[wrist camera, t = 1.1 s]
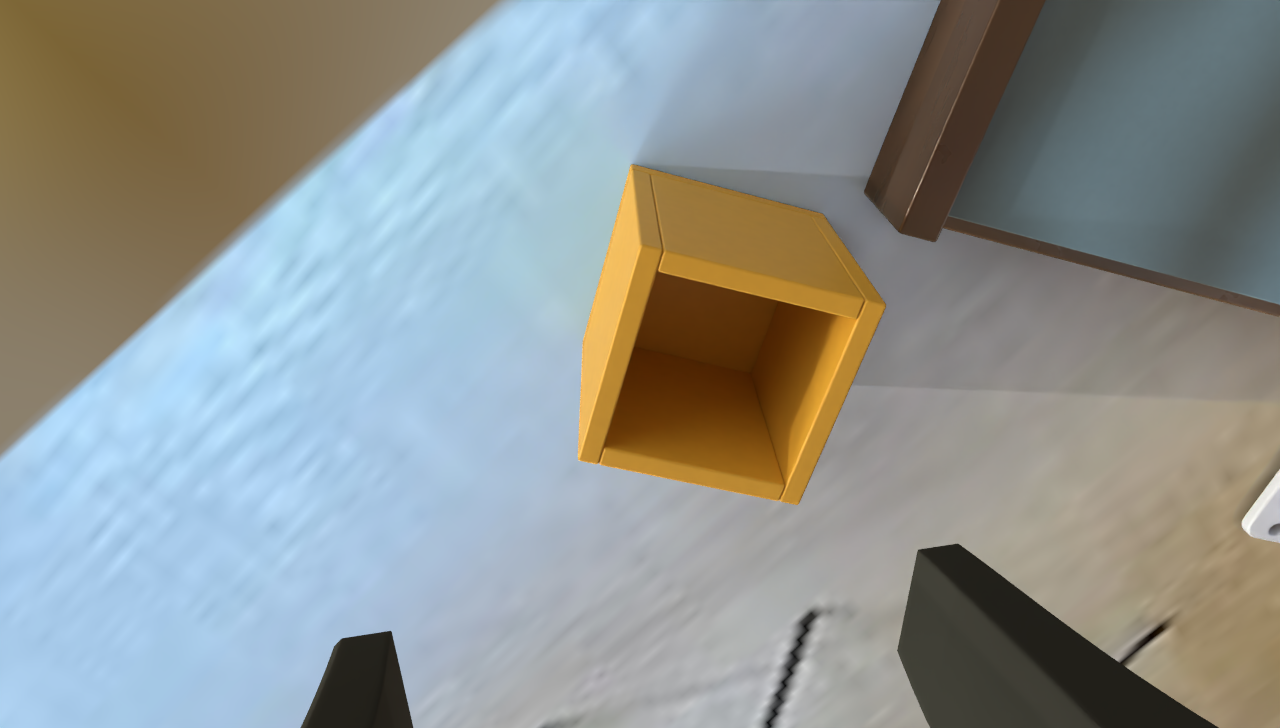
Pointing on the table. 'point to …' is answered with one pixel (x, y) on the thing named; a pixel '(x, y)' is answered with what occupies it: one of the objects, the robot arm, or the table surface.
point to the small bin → (720, 338)
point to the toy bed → (1099, 138)
